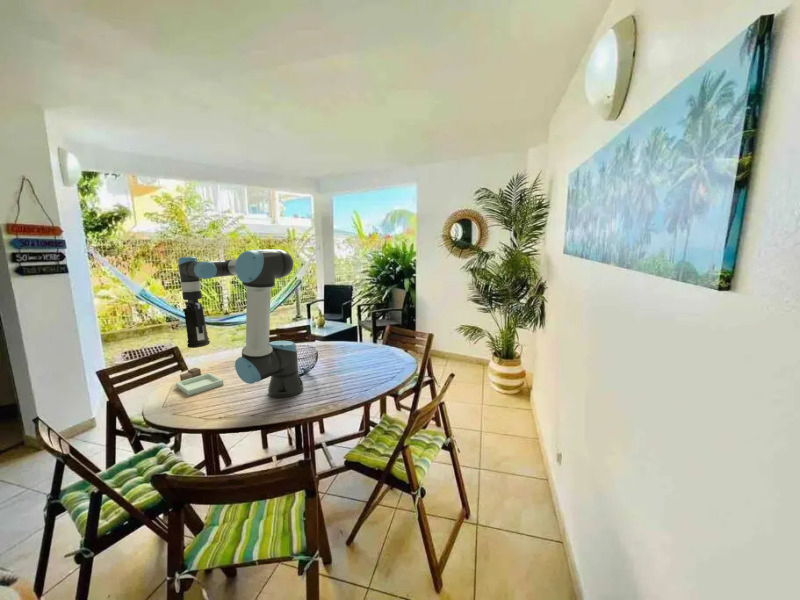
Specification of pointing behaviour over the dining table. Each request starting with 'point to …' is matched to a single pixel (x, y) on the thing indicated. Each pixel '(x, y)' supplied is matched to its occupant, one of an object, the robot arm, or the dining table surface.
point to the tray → (199, 384)
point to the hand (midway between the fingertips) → (197, 338)
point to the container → (194, 329)
